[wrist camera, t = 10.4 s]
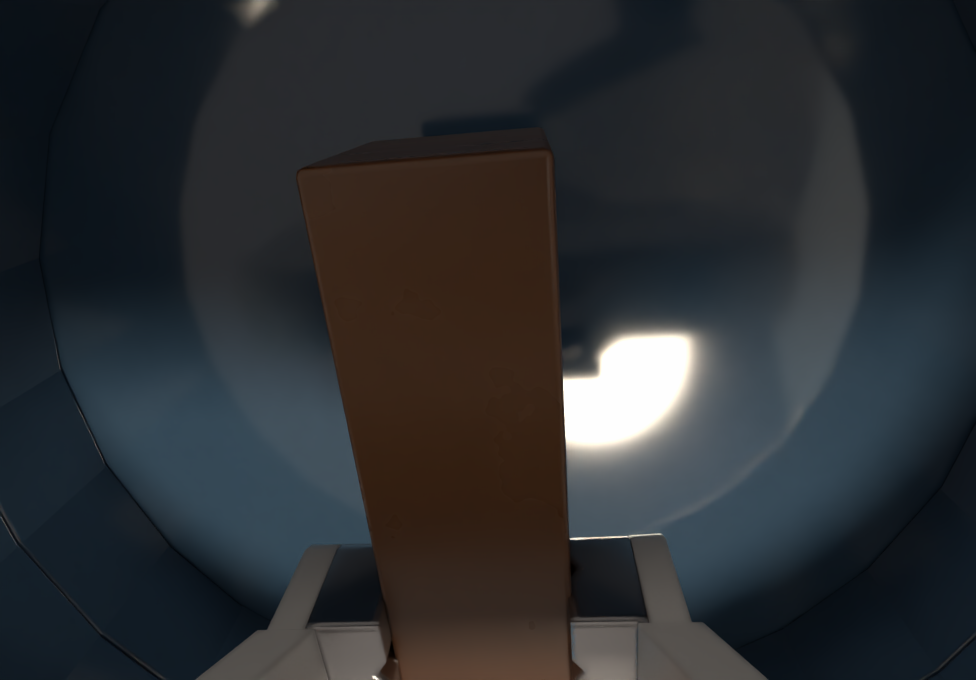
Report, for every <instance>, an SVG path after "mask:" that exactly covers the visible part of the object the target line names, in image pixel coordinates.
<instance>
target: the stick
mask: <svg viewBox="0 0 976 680" xmlns="http://www.w3.org/2000/svg"><path fill="white" fill-rule="evenodd" d="M296 181H297V186H298V191H299V196H300V200H301V205H302V210H303V215H304V220H305V224H306V229H307V234H308V239H309V244H310V249H311V253H312V258H313V263H314V268H315V273H316V277H317V282H318V287H319V292H320V297H321V302H322V306H323V311H324V316H325V321H326V326H327V331H328V335H329V340H330V345H331V350H332V355H333V359H334V364H335V369H336V374H337V379H338V384H339V388H340V393H341V398H342V403H343V408H344V412H345V417H346V422H347V427H348V432H349V437H350V441H351V446H352V451H353V456H354V461H355V465H356V470H357V475H358V480H359V485H360V490H361V494H362V499H363V504H364V509H365V514H366V518H367V523H368V528H369V533H370V538H371V543H372V547H373V552H374V557H375V562H376V567H377V571H378V576H379V581H380V586H381V591H382V596H383V600H384V601H385V605H386V610H387V614H388V619H389V623H390V628H391V632H392V644H393V649H394V653H395V658H396V659H397V660H398V665H399V670H400V675H401V680H572V665H571V657H572V653H571V641H570V626H569V602H568V597H570V595H571V593H572V588H571V563H570V538H569V513H568V488H567V463H566V438H565V413H564V388H563V363H562V338H561V313H560V288H559V263H558V238H557V213H556V188H555V163H554V155H553V152H552V150H551V147H550V145H549V142H548V140H547V137H546V135H545V132H544V130H543V129H542V128H539V127H532V128H521V129H509V130H498V131H486V132H475V133H463V134H451V135H440V136H428V137H417V138H405V139H394V140H382V141H372V142H369V143H367V144H364V145H361V146H359V147H356V148H353V149H351V150H348V151H345V152H342V153H340V154H337V155H334V156H332V157H329V158H326V159H324V160H321V161H318V162H316V163H313V164H310V165H308V166H305V167H303V168H301V169H299V170H297V174H296Z"/></svg>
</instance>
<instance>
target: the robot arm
mask: <svg viewBox="0 0 976 680" xmlns="http://www.w3.org/2000/svg"><path fill="white" fill-rule="evenodd" d="M570 563H571V588H572V593H571V595H570V597H568V602H569V626H570V641H571V653H572V657H571V665H572V680H768V679H767V678H766V677H765V676H764V675H763V674H761V673H760V672H759V671H758V670H757V669H756V668H755V667H753V666H752V665H751V664H750V663H749V662H748V661H747V660H745V659H744V658H743V657H742V656H741V655H740V654H739V653H737V652H736V651H735V650H734V649H733V648H732V647H731V646H729V645H728V644H727V643H726V642H725V641H724V640H723V639H721V638H720V637H719V636H718V635H717V634H716V633H715V632H713V631H712V630H711V629H710V628H709V627H708V626H707V625H705V624H704V623H703V622H692V621H691V618H690V615H689V611H688V608H687V605H686V602H685V599H684V595H683V592H682V589H681V586H680V583H679V580H678V576H677V573H676V570H675V567H674V564H673V560H672V557H671V554H670V551H669V548H668V544H667V541H666V538H665V537H664V536H663V535H662V534H643V535H629V536H608V537H583V538H570ZM196 680H401V675H400V670H399V665H398V660H397V659H396V658H395V653H394V649H393V644H392V632H391V628H390V623H389V619H388V614H387V610H386V605H385V601H384V600H383V596H382V591H381V586H380V581H379V576H378V571H377V567H376V562H375V557H374V552H373V547H372V544H342V545H338V544H331V545H311V546H310V547H308V548H307V549H306V550H305V551H304V553H303V555H302V557H301V559H300V562H299V564H298V566H297V568H296V570H295V572H294V574H293V576H292V578H291V580H290V583H289V585H288V587H287V589H286V591H285V593H284V595H283V597H282V599H281V601H280V603H279V606H278V608H277V610H276V612H275V614H274V616H273V618H272V620H271V622H270V624H269V626H268V629H267V630H257V631H256V632H254V633H253V634H252V635H251V636H249V637H248V638H247V639H246V640H244V641H243V642H242V643H241V644H239V645H238V646H237V647H236V648H234V649H233V650H232V651H231V652H229V653H228V654H227V655H226V656H224V657H223V658H222V659H221V660H219V661H218V662H217V663H216V664H214V665H213V666H212V667H211V668H209V669H208V670H207V671H206V672H204V673H203V674H202V675H201V676H199V677H198V678H197V679H196Z"/></svg>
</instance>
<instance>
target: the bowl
mask: <svg viewBox="0 0 976 680" xmlns="http://www.w3.org/2000/svg"><path fill="white" fill-rule="evenodd" d="M532 127H539V128H542V129H543V130H544V132H545V135H546V137H547V140H548V142H549V145H550V147H551V150H552V152H553V155H554V163H555V188H556V213H557V238H558V263H559V288H560V313H561V338H562V363H563V388H564V413H565V438H566V463H567V488H568V513H569V538H583V537H608V536H629V535H643V534H662V535H663V536H664V537H665V538H666V541H667V544H668V548H669V551H670V554H671V557H672V560H673V564H674V567H675V570H676V573H677V576H678V580H679V583H680V586H681V589H682V592H683V595H684V599H685V602H686V605H687V608H688V611H689V615H690V618H691V621H692V622H703V623H704V624H705V625H707V626H708V627H709V628H710V629H711V630H712V631H713V632H715V633H716V634H717V635H718V636H719V637H720V638H721V639H723V640H724V641H725V642H726V643H727V644H728V645H729V646H731V647H732V648H733V649H734V650H735V651H736V652H737V653H739V654H740V655H741V656H742V657H743V658H744V659H745V660H747V661H748V662H749V663H750V664H751V665H752V666H753V667H755V668H756V669H757V670H758V671H759V672H760V673H761V674H763V675H764V676H765V677H766V678H767V679H768V680H976V0H0V680H196V679H197V678H198V677H199V676H201V675H202V674H203V673H204V672H206V671H207V670H208V669H209V668H211V667H212V666H213V665H214V664H216V663H217V662H218V661H219V660H221V659H222V658H223V657H224V656H226V655H227V654H228V653H229V652H231V651H232V650H233V649H234V648H236V647H237V646H238V645H239V644H241V643H242V642H243V641H244V640H246V639H247V638H248V637H249V636H251V635H252V634H253V633H254V632H256V631H257V630H267V629H268V626H269V624H270V622H271V620H272V618H273V616H274V614H275V612H276V610H277V608H278V606H279V603H280V601H281V599H282V597H283V595H284V593H285V591H286V589H287V587H288V585H289V583H290V580H291V578H292V576H293V574H294V572H295V570H296V568H297V566H298V564H299V562H300V559H301V557H302V555H303V553H304V551H305V550H306V549H307V548H308V547H310V546H311V545H331V544H338V545H342V544H372V543H371V538H370V533H369V528H368V523H367V518H366V514H365V509H364V504H363V499H362V494H361V490H360V485H359V480H358V475H357V470H356V465H355V461H354V456H353V451H352V446H351V441H350V437H349V432H348V427H347V422H346V417H345V412H344V408H343V403H342V398H341V393H340V388H339V384H338V379H337V374H336V369H335V364H334V359H333V355H332V350H331V345H330V340H329V335H328V331H327V326H326V321H325V316H324V311H323V306H322V302H321V297H320V292H319V287H318V282H317V277H316V273H315V268H314V263H313V258H312V253H311V249H310V244H309V239H308V234H307V229H306V224H305V220H304V215H303V210H302V205H301V200H300V196H299V191H298V186H297V181H296V174H297V170H299V169H301V168H303V167H305V166H308V165H310V164H313V163H316V162H318V161H321V160H324V159H326V158H329V157H332V156H334V155H337V154H340V153H342V152H345V151H348V150H351V149H353V148H356V147H359V146H361V145H364V144H367V143H369V142H372V141H382V140H394V139H405V138H417V137H428V136H440V135H451V134H463V133H475V132H486V131H498V130H509V129H521V128H532Z"/></svg>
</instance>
